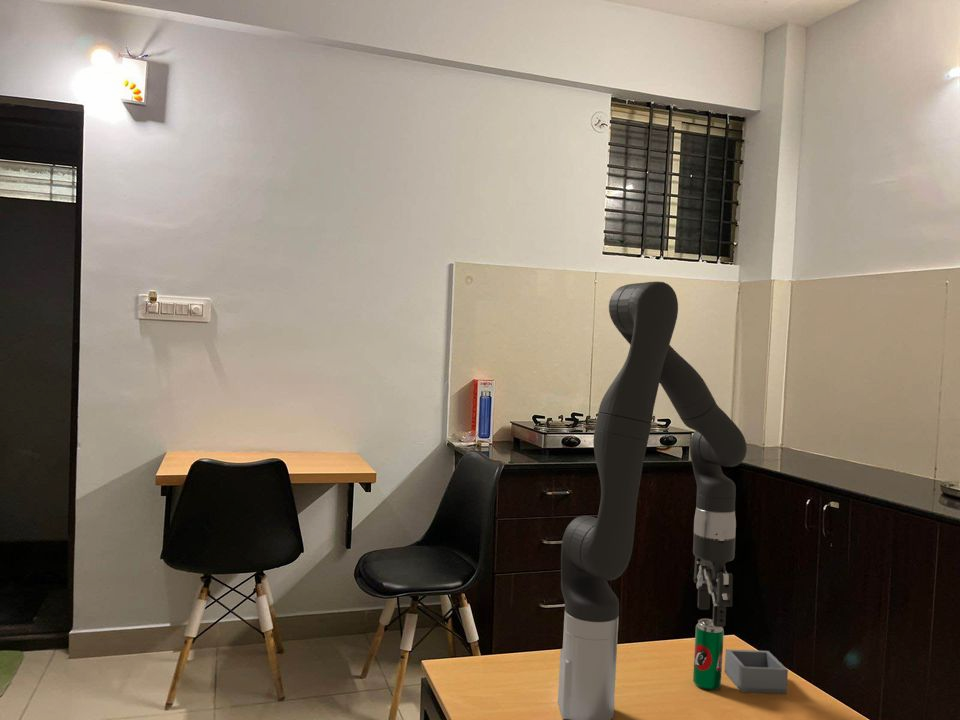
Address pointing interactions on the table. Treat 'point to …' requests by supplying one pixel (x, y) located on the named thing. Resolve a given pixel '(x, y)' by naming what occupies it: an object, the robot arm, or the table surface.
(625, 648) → the table surface
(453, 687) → the table surface
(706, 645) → the soda can
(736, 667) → the grey hollow square box
